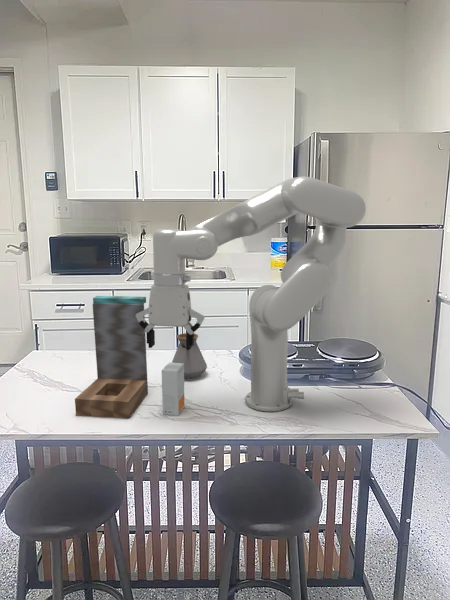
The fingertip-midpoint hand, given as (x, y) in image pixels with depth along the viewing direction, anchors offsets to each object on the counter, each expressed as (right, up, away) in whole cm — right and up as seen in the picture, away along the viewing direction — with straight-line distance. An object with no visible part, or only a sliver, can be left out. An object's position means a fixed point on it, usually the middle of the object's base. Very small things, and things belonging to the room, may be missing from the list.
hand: (170, 347), depth 113 cm
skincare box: (+1, -17, +4) cm, 17 cm away
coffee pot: (+2, -13, +23) cm, 26 cm away
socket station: (-16, -16, +8) cm, 24 cm away
